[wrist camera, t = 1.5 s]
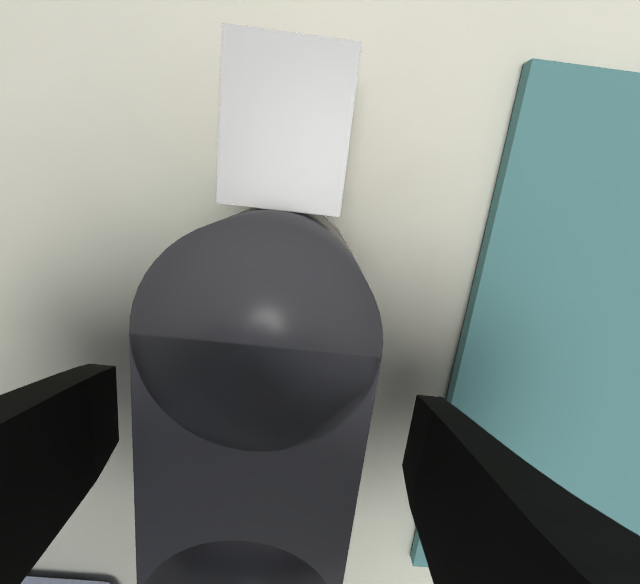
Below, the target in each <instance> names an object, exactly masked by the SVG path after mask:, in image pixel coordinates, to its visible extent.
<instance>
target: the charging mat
mask: <svg viewBox="0 0 640 584" xmlns="http://www.w3.org/2000/svg"><path fill="white" fill-rule="evenodd" d="M446 400H447V401H448V402H450V403H451V404H452V405H454V406H455V407H456V408H458V409H459V410H460V411H462V412H463V413H464V414H466V415H467V416H468V417H469V418H471V419H472V420H473V421H474V422H476V423H477V424H478V425H480V426H481V427H482V428H483V429H485V430H486V431H487V432H488V433H490V434H491V435H492V436H494V437H495V438H496V439H497V440H499V441H500V442H501V443H503V444H504V445H505V446H506V447H508V448H509V449H510V450H512V451H513V452H514V453H516V454H517V455H518V456H520V457H521V458H522V459H524V460H525V461H526V462H528V463H529V464H531V465H532V466H533V467H535V468H536V469H537V470H539V471H540V472H542V473H543V474H545V475H546V476H547V477H549V478H550V479H552V480H553V481H555V482H556V483H557V484H559V485H560V486H562V487H563V488H565V489H566V490H567V491H569V492H570V493H572V494H574V495H575V496H577V497H578V498H580V499H581V500H583V501H584V502H586V503H587V504H589V505H590V506H592V507H594V508H595V509H597V510H599V511H600V512H602V513H603V514H605V515H607V516H608V517H610V518H611V519H613V520H615V521H616V522H618V523H619V524H621V525H623V526H624V527H626V528H627V529H629V530H631V531H633V532H634V533H636V534H638V535H639V536H640V73H638V72H630V71H623V70H615V69H608V68H600V67H593V66H585V65H578V64H570V63H563V62H556V61H548V60H541V59H531V60H529V61H528V62H526V63H524V65H523V69H522V74H521V78H520V82H519V87H518V91H517V95H516V100H515V104H514V108H513V113H512V117H511V121H510V126H509V130H508V134H507V139H506V143H505V147H504V152H503V156H502V160H501V165H500V169H499V173H498V178H497V182H496V186H495V191H494V195H493V199H492V203H491V208H490V212H489V216H488V221H487V225H486V229H485V234H484V238H483V242H482V247H481V251H480V255H479V260H478V264H477V268H476V273H475V277H474V281H473V286H472V290H471V294H470V299H469V303H468V307H467V312H466V316H465V320H464V325H463V329H462V333H461V338H460V342H459V346H458V351H457V355H456V359H455V364H454V368H453V372H452V377H451V381H450V385H449V390H448V394H447V398H446ZM410 556H411V560H412V564H413V566H419V567H428V564H427V561H426V557H425V554H424V551H423V548H422V545H421V542H420V538H419V535H418V532H417V529H416V532H415V537H414V541H413V545H412V550H411V554H410Z"/></svg>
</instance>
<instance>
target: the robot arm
mask: <svg viewBox="0 0 640 584" xmlns="http://www.w3.org/2000/svg"><path fill="white" fill-rule="evenodd" d="M118 441H119V429H118V406H117V384H116V366H107V365H97V364H87V365H83V366H79V367H76V368H73V369H70V370H67V371H64V372H61V373H58V374H56V375H53V376H50V377H47V378H45V379H42V380H39V381H37V382H34V383H31V384H29V385H26V386H23V387H21V388H18V389H16V390H13V391H10V392H8V393H5V394H2V395H0V584H110V583H108V582H103V581H89V580H74V579H60V578H45V577H31V576H27V575H28V573H29V572H30V571H31V569H32V568H33V566H34V565H35V564H36V562H37V561H38V560H39V558H40V557H41V556H42V554H43V553H44V552H45V550H46V549H47V548H48V546H49V545H50V544H51V542H52V541H53V539H54V538H55V537H56V535H57V534H58V533H59V531H60V530H61V529H62V527H63V526H64V525H65V523H66V522H67V521H68V519H69V518H70V517H71V515H72V514H73V512H74V511H75V510H76V508H77V507H78V506H79V504H80V503H81V501H82V500H83V499H84V497H85V496H86V495H87V493H88V492H89V490H90V489H91V488H92V486H93V485H94V483H95V482H96V480H97V479H98V477H99V475H100V474H101V472H102V470H103V468H104V467H105V465H106V463H107V462H108V460H109V458H110V456H111V454H112V452H113V450H114V449H115V447H116V445H117V443H118ZM402 466H403V472H404V478H405V484H406V489H407V495H408V500H409V505H410V509H411V512H412V515H413V519H414V522H415V525H416V529H417V532H418V535H419V538H420V542H421V545H422V548H423V551H424V554H425V557H426V561H427V564H428V567H429V570H430V573H431V576H432V580H433V583H434V584H640V536H639V535H638V534H636V533H634V532H633V531H631V530H629V529H627V528H626V527H624V526H623V525H621V524H619V523H618V522H616V521H615V520H613V519H611V518H610V517H608V516H607V515H605V514H603V513H602V512H600V511H599V510H597V509H595V508H594V507H592V506H590V505H589V504H587V503H586V502H584V501H583V500H581V499H580V498H578V497H577V496H575V495H574V494H572V493H570V492H569V491H567V490H566V489H565V488H563V487H562V486H560V485H559V484H557V483H556V482H555V481H553V480H552V479H550V478H549V477H547V476H546V475H545V474H543V473H542V472H540V471H539V470H537V469H536V468H535V467H533V466H532V465H531V464H529V463H528V462H526V461H525V460H524V459H522V458H521V457H520V456H518V455H517V454H516V453H514V452H513V451H512V450H510V449H509V448H508V447H506V446H505V445H504V444H503V443H501V442H500V441H499V440H497V439H496V438H495V437H494V436H492V435H491V434H490V433H488V432H487V431H486V430H485V429H483V428H482V427H481V426H480V425H478V424H477V423H476V422H474V421H473V420H472V419H471V418H469V417H468V416H467V415H466V414H464V413H463V412H462V411H460V410H459V409H458V408H456V407H455V406H454V405H452V404H451V403H450V402H448V401H447V400H445V399H444V398H442V397H434V396H423V395H417V396H416V401H415V406H414V411H413V416H412V421H411V425H410V430H409V435H408V440H407V445H406V449H405V454H404V459H403V464H402Z"/></svg>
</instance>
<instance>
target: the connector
mask: <svg viewBox="0 0 640 584" xmlns="http://www.w3.org/2000/svg"><path fill="white" fill-rule="evenodd" d="M361 45H362V41H354V40H347V39H339V38H332V37H324V36H317V35H309V34H302V33H294V32H287V31H279V30H272V29H264V28H257V27H249V26H242V25H234V24H227V23H222V45H221V74H220V103H219V132H218V161H217V190H216V203H220V204H229V205H238V206H247V207H255V208H252V209H249V210H247V211H244V212H241V213H239V214H236V215H233V216H231V217H228V218H225V219H223V220H220V221H218V222H215V223H212V224H210V225H207V226H204V227H202V228H199V229H196V230H194V231H193V232H191V233H189V234H187V235H185V236H183V237H182V238H180V239H179V240H177V241H176V242H175V243H173V244H172V245H171V246H169V247H168V248H167V249H166V250H165V251H164V252H163V253H162V254H161V255H160V256H159V257H158V258H157V259H156V260H155V261H154V263H153V264H152V265H151V267H150V268H149V269H148V271H147V272H146V274H145V275H144V277H143V279H142V281H141V283H140V285H139V287H138V289H137V292H136V295H135V298H134V301H133V305H132V310H131V315H130V330H129V338H130V371H131V404H132V438H133V471H134V504H135V537H136V570H137V584H343V579H344V573H345V567H346V561H347V555H348V549H349V544H350V538H351V532H352V526H353V520H354V514H355V509H356V503H357V497H358V491H359V485H360V479H361V474H362V468H363V462H364V456H365V450H366V444H367V439H368V433H369V427H370V421H371V415H372V409H373V404H374V398H375V392H376V386H377V380H378V374H379V369H380V363H381V356H382V346H383V334H382V324H381V318H380V313H379V310H378V307H377V304H376V301H375V298H374V295H373V293H372V291H371V289H370V287H369V285H368V283H367V281H366V280H365V278H364V276H363V274H362V272H361V270H360V268H359V266H358V265H357V263H356V261H355V259H354V257H353V255H352V253H351V251H350V250H349V248H348V246H347V244H346V242H345V240H344V238H343V237H342V235H341V234H340V232H339V231H338V229H337V228H336V227H335V226H334V225H333V224H332V223H331V222H330V221H329V220H328V219H327V218H325V217H324V216H323V215H326V216H335V217H340V214H341V206H342V198H343V190H344V182H345V174H346V166H347V158H348V150H349V141H350V133H351V125H352V117H353V109H354V101H355V93H356V85H357V77H358V69H359V61H360V53H361Z"/></svg>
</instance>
